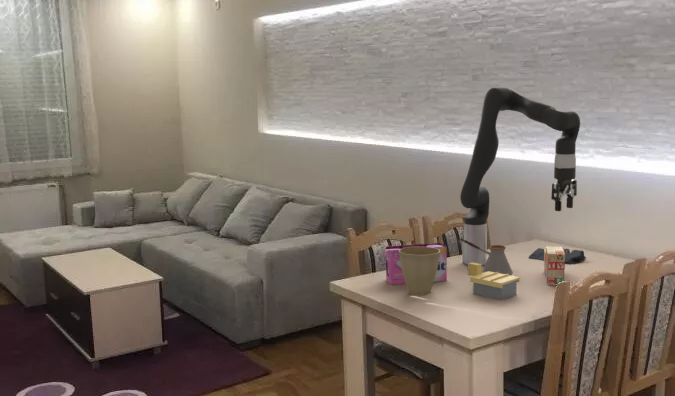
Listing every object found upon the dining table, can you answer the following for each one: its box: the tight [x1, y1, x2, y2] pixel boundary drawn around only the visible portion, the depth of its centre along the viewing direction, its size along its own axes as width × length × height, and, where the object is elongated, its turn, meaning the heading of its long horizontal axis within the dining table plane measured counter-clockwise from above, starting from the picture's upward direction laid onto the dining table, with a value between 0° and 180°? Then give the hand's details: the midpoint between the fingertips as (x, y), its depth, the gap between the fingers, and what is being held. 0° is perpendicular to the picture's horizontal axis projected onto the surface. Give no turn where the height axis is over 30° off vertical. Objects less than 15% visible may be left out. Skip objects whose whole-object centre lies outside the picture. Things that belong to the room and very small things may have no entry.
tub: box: [472, 280, 518, 301], centre depth 254 cm, size 12×9×6 cm
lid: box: [467, 262, 521, 288], centre depth 255 cm, size 17×11×5 cm, turn 43°
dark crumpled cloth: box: [528, 247, 587, 266], centre depth 307 cm, size 15×22×5 cm
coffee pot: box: [458, 238, 514, 276], centre depth 278 cm, size 21×12×15 cm, turn 59°
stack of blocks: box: [543, 245, 566, 286], centre depth 275 cm, size 21×6×12 cm, turn 167°
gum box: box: [384, 242, 448, 285], centre depth 277 cm, size 24×8×14 cm, turn 100°
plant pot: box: [399, 246, 440, 296], centre depth 259 cm, size 15×15×16 cm
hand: (563, 209), depth 265 cm, fingers open, 8 cm apart
